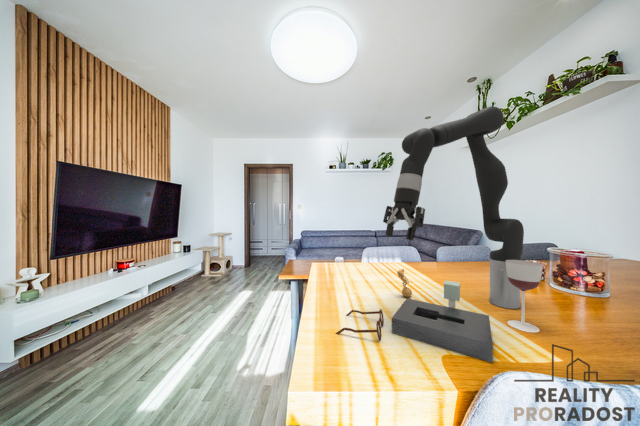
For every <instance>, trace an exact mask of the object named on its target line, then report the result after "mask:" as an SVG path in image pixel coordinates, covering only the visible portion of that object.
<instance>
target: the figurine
mask: <svg viewBox="0 0 640 426" xmlns="http://www.w3.org/2000/svg"><path fill="white" fill-rule="evenodd" d="M404 272H405V269H404V268H402V269H399V270H397V272H396V273H397V276H398V278H400V279H401V281H402V286H403V288H402V289H401V294H402V296H403V297H405V298H410V297H411V296H412V295H413V292H412V290H411V288H410V287H407V286H406V285H408V284H410V281H409V280H408V279H407V277H406V276H405V273H404Z"/></svg>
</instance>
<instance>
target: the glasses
mask: <svg viewBox="0 0 640 426" xmlns="http://www.w3.org/2000/svg"><path fill="white" fill-rule="evenodd" d="M352 313H358V314H362V315H375V314H377V315H379V318H378V320H377V321H376V329H354V328H351V327H349V328H348V327H342V328H341V329H340V330H338V331H336V332H335V333H334V334H335V335H340V334H341V333H343V332H344V331H347V332H348V331H349V332H353V333H354V334H355V333H356V334H358V333H365V334H366V333H377V338H378V341H380V340H381V341H382V328H381V326H384V324H385V323H384V322H385V321H384V320H385V319H384V313H383V309H381V308H380V309H379V311H360V310H354V309H352V310H350V311H349V312H348V313H347V314H346V315H345V316H346V317H349V316H350V315H351V314H352Z"/></svg>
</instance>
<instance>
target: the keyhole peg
mask: <svg viewBox="0 0 640 426" xmlns="http://www.w3.org/2000/svg"><path fill="white" fill-rule="evenodd" d="M443 299H445V300H448V307H451V308H456V302H460V299H461V282H458V281H451V280H444V283H443Z"/></svg>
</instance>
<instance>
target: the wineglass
mask: <svg viewBox="0 0 640 426" xmlns="http://www.w3.org/2000/svg"><path fill="white" fill-rule="evenodd" d="M506 271H507V276H508V280H509V282H510V283H511V284H512V285H514V286H515V287H517V288H519V289H520V292H521V301H520V309H521V313H520V315H521V320H515V319H513V320H511V319H510V320H508V321H507V324H508V325H509V326H510V327H512V328H514V329H515V330H520V331H523V332H527V333H539V332H540V328H539V327H537V326H536V325H534V324H531V323H529V322H526V320H525V319H526V318H525V317H526V314H525V312H526V309H525V308H526V307H525V306H526V300H525V299H526V292H527V291H531V290H535V289H537V288H538V287H539V285H540V283H541V280H542V276H543V264H542V263H539V262H534V261H530V260H529V261H528V260H522V259H521V260H506Z"/></svg>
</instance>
